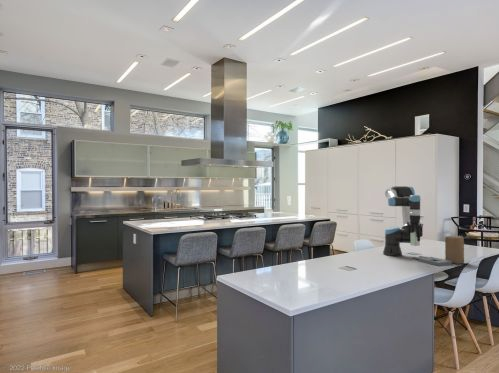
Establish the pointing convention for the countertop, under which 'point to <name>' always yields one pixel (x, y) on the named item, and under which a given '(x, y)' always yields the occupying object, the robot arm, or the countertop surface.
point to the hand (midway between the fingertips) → (415, 244)
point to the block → (454, 249)
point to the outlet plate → (435, 261)
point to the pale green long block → (413, 239)
